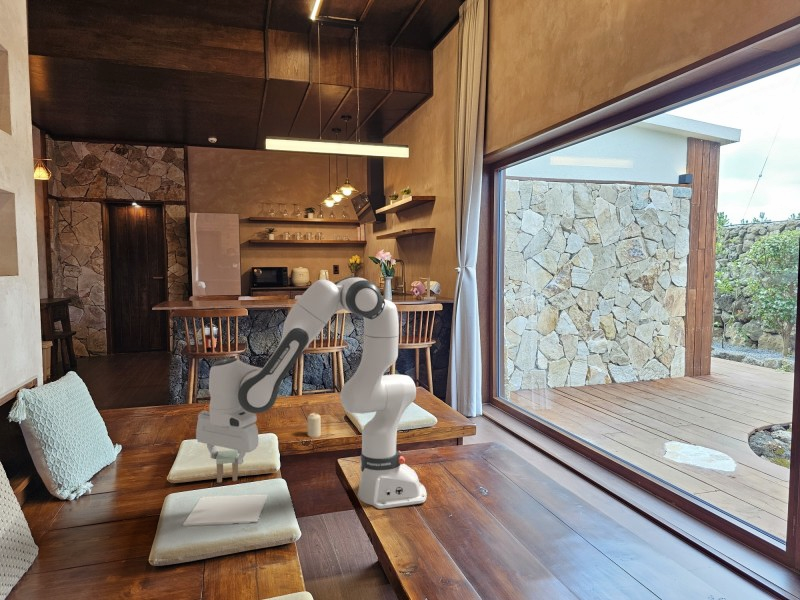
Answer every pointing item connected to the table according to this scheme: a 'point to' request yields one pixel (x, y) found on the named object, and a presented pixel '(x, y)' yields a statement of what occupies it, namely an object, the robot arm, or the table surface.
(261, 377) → the robot arm
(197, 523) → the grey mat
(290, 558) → the table surface
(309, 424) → the candle
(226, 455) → the wooden stool
